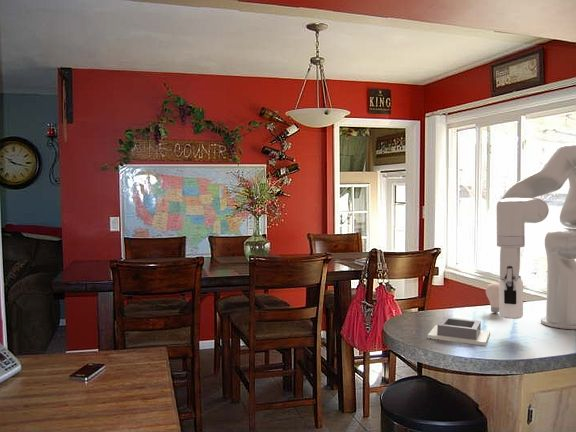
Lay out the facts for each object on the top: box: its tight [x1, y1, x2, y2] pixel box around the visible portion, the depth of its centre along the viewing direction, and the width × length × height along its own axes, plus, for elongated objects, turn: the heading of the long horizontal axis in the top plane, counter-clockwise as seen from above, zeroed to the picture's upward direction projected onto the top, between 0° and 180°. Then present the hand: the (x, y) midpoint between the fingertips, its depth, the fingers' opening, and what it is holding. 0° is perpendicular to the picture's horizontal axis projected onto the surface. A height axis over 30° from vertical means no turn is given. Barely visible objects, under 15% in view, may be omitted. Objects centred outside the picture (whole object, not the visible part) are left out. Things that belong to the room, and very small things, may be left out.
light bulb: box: [485, 282, 499, 314], centre depth 178 cm, size 7×7×11 cm
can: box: [498, 275, 524, 320], centre depth 148 cm, size 6×6×12 cm
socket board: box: [427, 316, 491, 347], centre depth 148 cm, size 16×13×4 cm
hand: (510, 300), depth 148 cm, fingers closed on can, 6 cm apart
